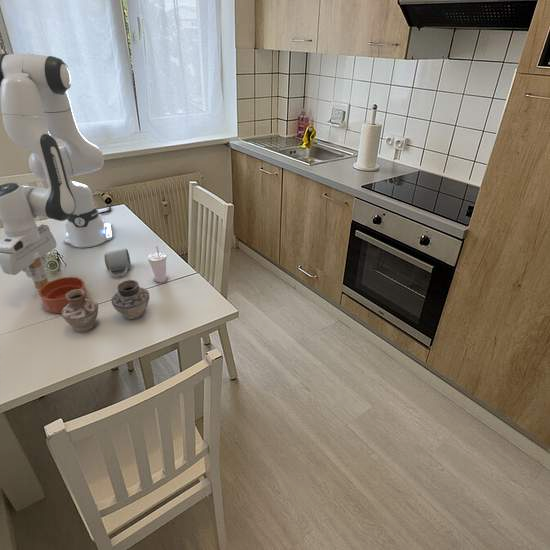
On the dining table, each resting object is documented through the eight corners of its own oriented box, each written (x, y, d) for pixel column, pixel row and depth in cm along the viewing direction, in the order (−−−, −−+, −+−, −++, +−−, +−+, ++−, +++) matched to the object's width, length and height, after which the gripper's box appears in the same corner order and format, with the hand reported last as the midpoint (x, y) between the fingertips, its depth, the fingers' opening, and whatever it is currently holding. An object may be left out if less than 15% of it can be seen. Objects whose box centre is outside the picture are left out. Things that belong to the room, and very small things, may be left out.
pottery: (66, 320, 121) (55, 288, 115) (148, 299, 131) (142, 269, 125) (68, 342, 113) (56, 309, 107) (155, 318, 123) (149, 286, 116)
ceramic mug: (108, 265, 149) (103, 247, 145) (131, 262, 151) (127, 244, 147) (107, 280, 141) (102, 262, 136) (131, 276, 143) (127, 258, 139)
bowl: (50, 292, 134) (45, 279, 131) (91, 288, 136) (88, 275, 133) (39, 316, 123) (33, 302, 120) (84, 311, 125) (79, 297, 122)
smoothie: (165, 285, 138) (159, 250, 131) (148, 283, 139) (142, 248, 132) (173, 275, 143) (167, 241, 136) (156, 273, 145) (150, 240, 137)
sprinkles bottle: (44, 281, 138) (31, 247, 131) (53, 284, 136) (41, 250, 129) (32, 288, 135) (18, 253, 127) (41, 291, 133) (28, 257, 126)
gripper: (38, 220, 134) (50, 256, 142) (-11, 248, 117) (5, 286, 125) (54, 222, 133) (65, 258, 140) (7, 251, 116) (22, 289, 123)
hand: (37, 271), depth 132 cm, fingers closed on sprinkles bottle, 4 cm apart
